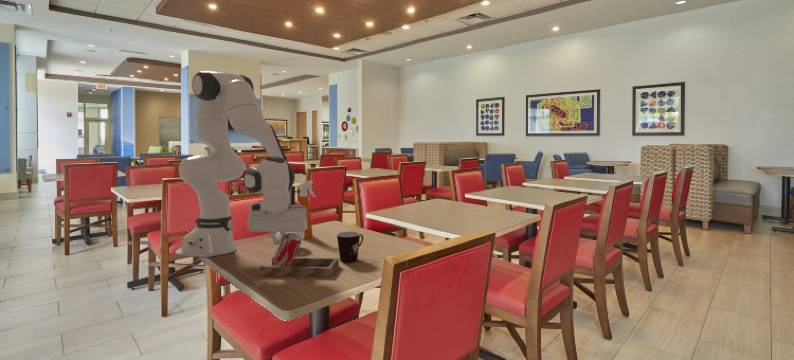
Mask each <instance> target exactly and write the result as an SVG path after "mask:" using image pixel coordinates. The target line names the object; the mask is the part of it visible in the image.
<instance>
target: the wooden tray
mask: <svg viewBox="0 0 794 360" xmlns="http://www.w3.org/2000/svg"><path fill="white" fill-rule="evenodd" d="M273 257H274V256H272V257H271V260H272V259H273ZM339 261H340V257H339V258H338V257H334V258H333V257H300V256H299V257H296V256H294V258H293V260H292V262H291V264H290V266H274V265H273V263H272V262H271V265H261V266H260V267H259V269H260V276H262V277H265V276H267V277H268V276H269V277H303V278H305V277H307V278H308V277H309V278H311V277H312V278H332V277H333V276H334V274H335V273H336V271H337V270H338V268H339V265H340V264H339Z"/></svg>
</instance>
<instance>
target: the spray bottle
mask: <svg viewBox="0 0 794 360" xmlns="http://www.w3.org/2000/svg"><path fill="white" fill-rule="evenodd" d="M313 183H314V181H313V180H306V181H304V182H302V183H300V184H299V185H298V186H297V189H298V190H299V200H298V205H303V206H304V207H306V209H307V216H306V218H307V226H308V227H307V229H306V230H305V231H304V239H308V238H309V239H310V238H312V237H313V236H314V234H313V227H312V219H311V213H310V212H311V211H310V203H309V195H308V193H310V195H311V196H312V197H313V198H317V196H316V195H315V192H314V191H313V189H312V187H313V186H312V184H313ZM304 207H302V208H304Z"/></svg>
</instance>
